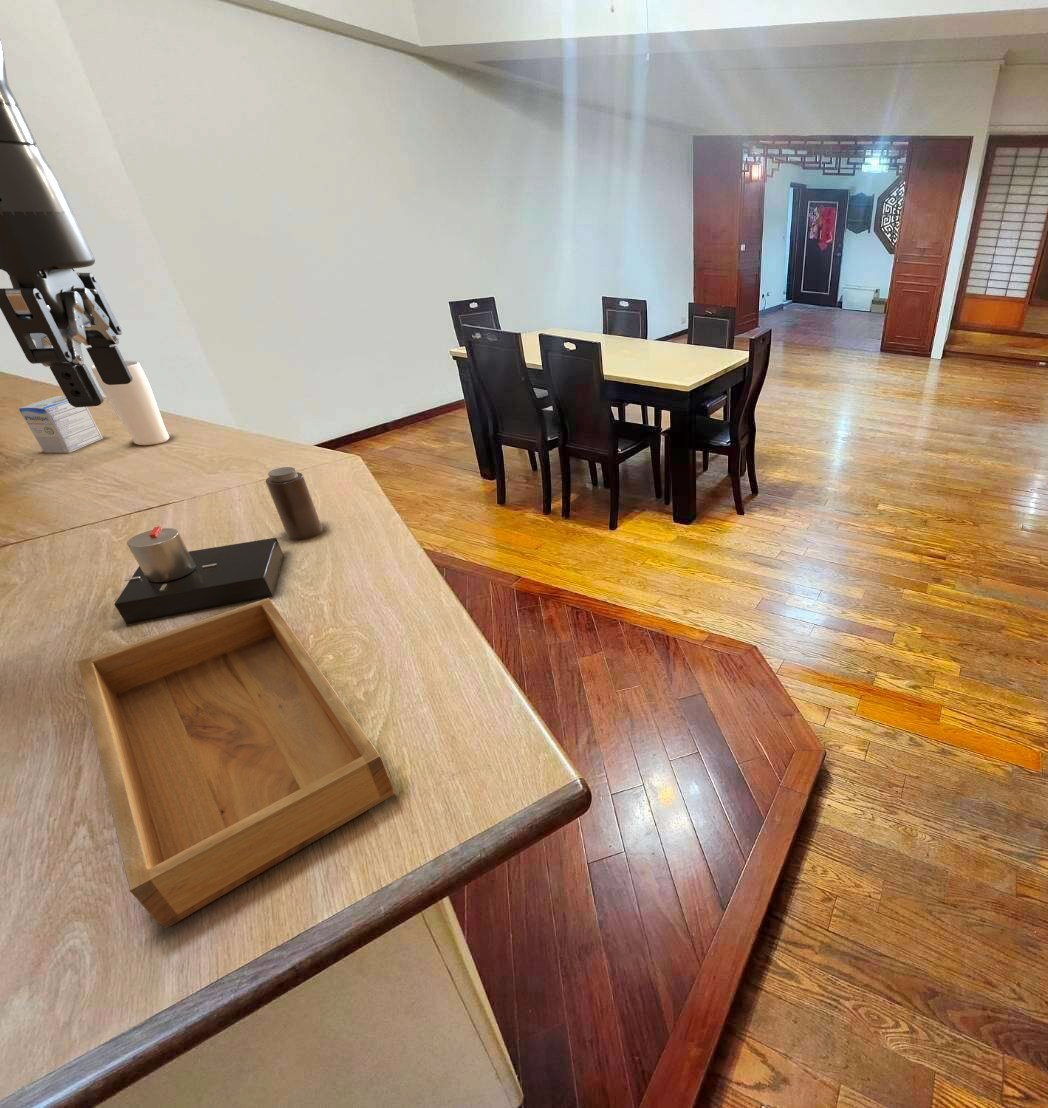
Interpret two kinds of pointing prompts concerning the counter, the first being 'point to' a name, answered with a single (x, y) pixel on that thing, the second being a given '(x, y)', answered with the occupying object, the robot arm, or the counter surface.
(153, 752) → the tray
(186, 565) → the stove knob
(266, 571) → the stove panel
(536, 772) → the counter surface
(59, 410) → the medicine box
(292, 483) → the pepper mill
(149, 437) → the white tall cup
